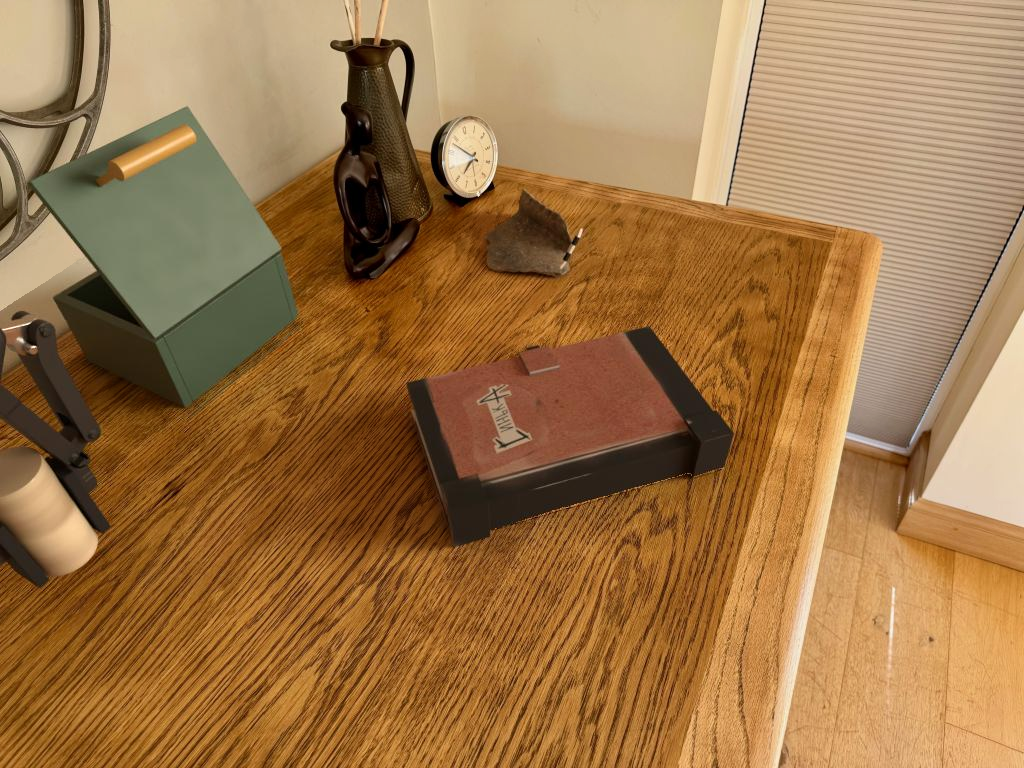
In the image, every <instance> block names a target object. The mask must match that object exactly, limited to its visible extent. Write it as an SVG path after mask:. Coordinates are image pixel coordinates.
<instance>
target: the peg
mask: <svg viewBox="0 0 1024 768" xmlns="http://www.w3.org/2000/svg"><path fill="white" fill-rule="evenodd" d="M0 524H1V525H3V526H4V527H5V528H6V529H7V530H8V532H9V533H10V534H11V535H12V536H13V538H14V539H15V540H16V541H17V542H18V543H19V545H20V546H21V547H22V548H23V549H24V550H25V552H26V553H27V554H28V555H29V556H30V557H31V559H32V560H33V561H34V562H35V563H36V565H37V566H38V567H39V568H40V569H41V570H42V572H43V573H44V574H45V575H46V576H47V577H48V578H58V577H62V576H66V575H68V574H71V573H73V572H76V571H77V570H78V569H80V568H81V567H83V566H84V565H85V564H87V562H88V561H90V560H91V558H92V557H93V556H94V554H95V553H96V551H97V548H98V544H99V536H98V534H97V531H96V530H95V529H94V528H93V527H92V526H91V524H90V523H89V522H88V520H87V519H86V517H85V516H84V515H83V513H82V512H81V510H80V509H79V507H78V506H77V505H76V503H75V502H74V500H73V499H72V498H71V496H70V495H69V493H68V492H67V490H66V489H65V488H64V486H63V485H62V483H61V482H60V481H59V479H58V478H57V476H56V475H55V473H54V472H53V471H52V469H51V468H50V466H49V465H48V464H47V462H46V461H45V457H44V455H42V454H41V453H40V451H38V450H37V449H35V448H33V447H30V446H21V445H20V446H13V447H12V446H11V447H8V448H4V449H1V450H0Z"/></svg>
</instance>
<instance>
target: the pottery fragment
mask: <svg viewBox="0 0 1024 768" xmlns="http://www.w3.org/2000/svg"><path fill="white" fill-rule="evenodd" d="M583 231H584V228H580V229H579V230H578V231H577V233H576V234H575V235H574V237H573V239H572V236H571V233H570V230H569V225H568V224H567V221H565V220H564V217H563V214H562V213H560V212H558V211H555V210H553V209H551V208H549V207H548V206H546V205H545V204H544V203H542V202H541V201H540V200H538V199H536V198H535V197H534V196H533V195H532V193H530V192H529V191H527V189H526V188H522V190H521V193H520V195H519V200H518V209H517V211H516V212H515V213H514V214H513V215H512V216H510V217H509V218H507V219H506V221H505V222H503V223H501V224H499V225H498V226H495V228H493V230H492V231H489V232H487V233H486V235H485V240H486V241H487V242H489V245H487V246H486V247H485V250H486V251H487V254H486V256H487V258H486V266H487V267H488V269H490V270H491V271H494V272H498V273H499V272H500V273H501V272H512V273H517V272H521V273H537V274H543V275H548V276H552V277H556V278H559V277H563V276H564V275H566V273H568V272H570V271H571V267H570V266H569V265H570V262H569V259H570V258H571V257H572V253H573V251H574V250H575V248H576V246H577V245H578V242H579V240H580V239H581V237H582V234H583Z"/></svg>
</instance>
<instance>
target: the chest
mask: <svg viewBox="0 0 1024 768" xmlns="http://www.w3.org/2000/svg"><path fill="white" fill-rule="evenodd" d="M52 299H53V301H54V303H55V304H56V307H57V308H58V310H59V312H60V314H61V315H62V318H63V319H64V320H65V323H66V324H67V326H68V328H69V329H70V331H71V333H72V335H73V337H74V338H75V340H76V343H77V344H78V346H79V347H80V349H81V351H82V353H83V355H84V356H85V358H86V360H87V362H89V363H91V364H93V365H96V366H97V367H99V368H101V369H103V370H106V371H108V372H109V373H111V374H114V375H116V376H118V377H120V378H122V379H124V380H127V381H129V382H130V383H132V384H135V385H137V386H138V387H141V388H143V389H145V390H147V391H149V392H150V393H154V394H155V395H157V396H160V397H162V398H164V399H165V400H168V401H170V402H172V403H174V404H176V405H178V406H180V407H183V408H184V409H185V408H187V407H189V406H190V405H191V404H192V403H193V402H195V401H196V400H197V399H199V398H200V397H201V396H202V395H204V394H205V393H206V392H207V391H208V390H210V389H211V388H212V387H213V386H214V385H216V384H218V382H220V381H221V380H222V379H223V378H224V377H226V376H227V375H228V374H229V373H231V372H232V371H233V370H234V369H235V368H236V367H238V366H240V365H241V364H242V363H243V362H244V361H245V360H246V359H248V358H249V357H250V356H251V355H253V354H254V353H255V352H257V351H258V350H259V349H260V348H262V347H263V346H264V345H265V344H266V343H268V342H269V341H270V340H271V339H272V338H274V337H275V336H276V335H278V334H279V333H280V332H281V331H283V330H284V329H285V328H287V326H289V325H290V324H291V323H292V322H294V321H295V320H296V319H297V318H298V317H299V311H298V309H297V304H296V301H295V297H294V294H293V291H292V285H291V283H290V279H289V276H288V272H287V268H286V265H285V262H284V257H283V254H282V253H281V252H280V251H278V252H277V253H275V254H274V255H273V256H271V257H270V258H268V259H267V260H266V261H264V262H263V263H261V264H260V265H259V266H257V267H256V268H254V269H253V270H252V271H250V272H249V273H247V274H246V275H244V276H243V277H242V278H240V279H239V280H237V281H236V282H235V283H233V284H232V285H230V286H229V287H228V288H226V289H225V290H223V291H222V292H220V293H219V294H218V295H216V296H215V297H213V298H212V299H211V300H209V301H208V302H206V303H205V304H204V305H202V306H201V307H199V308H198V309H197V310H195V311H194V312H192V313H191V314H189V315H188V316H187V317H185V318H184V319H182V320H181V321H180V322H178V323H177V324H175V325H174V326H173V327H171V328H170V329H168V330H167V331H165V332H164V333H163V334H161V335H160V336H158V337H157V338H156V339H151V338H150V337H149V335H148V334H147V333H146V332H145V330H144V329H143V328H142V327H141V325H140V324H139V323H138V322H137V320H136V319H135V318H134V317H133V315H132V314H131V313H130V312H129V310H128V309H127V308H126V307H125V305H124V304H123V303H122V302H121V300H120V299H119V298H118V297H117V295H116V294H115V293H114V292H113V290H112V289H111V288H110V287H109V285H108V284H107V283H106V282H105V280H104V279H103V278H102V277H101V275H100V274H99V273H98V272H97V270H95V271H93V272H92V273H91V274H88V275H87V276H85V277H84V278H82V279H81V280H79V281H77V282H75V283H74V284H72V285H70V286H69V287H66V288H65V289H64V290H62V291H60V292H59V293H57V294H55V295H54V296H52ZM300 327H302V324H300V325H298V326H297V327H296V328H295V329H293V330H292V331H291V332H290V333H288V334H287V335H286V336H285V337H283V339H281V340H280V341H279V342H277V344H275V345H274V346H273V347H272V348H271V349H269V350H268V351H267V352H266V353H264V354H263V355H262V356H260V358H258V359H257V360H255V361H254V362H253V363H252V364H251V365H250V366H249V367H247V368H246V369H245V370H244V371H243V372H241V373H240V374H238V376H236V377H235V378H234V379H233V380H231V381H230V382H229V383H228V384H227V385H225V386H224V387H223V388H222V389H221V390H220V391H218V392H217V393H216V394H214V395H213V396H212V397H211V398H209V399H208V400H207V401H206V402H205V403H204V404H203V405H201V406H200V407H199V408H197V409H196V410H195V411H194V412H193V413H191V414H190V415H189V416H188V418H191V417H193V416H194V415H195V414H196V413H197V412H198V411H200V410H201V409H202V408H203V407H205V406H206V405H208V403H210V402H211V401H212V400H213V399H215V397H217V396H218V395H219V394H221V393H222V392H223V391H224V390H225V389H226V388H228V387H229V386H230V385H231V384H232V383H234V382H235V381H236V380H237V379H238V378H240V377H241V376H242V375H243V374H245V373H246V372H247V371H248V370H249V369H251V368H253V366H254V365H255V364H257V363H258V362H259V361H260V360H262V359H263V358H264V357H265V356H266V355H268V354H269V353H270V352H271V351H273V350H274V349H275V348H276V347H277V346H279V345H280V344H281V343H282V342H284V340H286V339H287V338H288V337H289V336H291V335H292V334H293V333H294V332H295V331H297V330H298V329H299V328H300Z"/></svg>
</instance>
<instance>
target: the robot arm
mask: <svg viewBox="0 0 1024 768" xmlns="http://www.w3.org/2000/svg"><path fill="white" fill-rule="evenodd" d="M57 341H58V340H57V333H56V327H55V325H53V324H52V323H51V322H49V321H47V320H46V319H42V318H41V317H39V316H36V315H34V314H33V313H30V312H28V311H26V310H19V311H15V313H14V314H12V316H11V319H10V320H9V321H8V320H7V321H3V322H0V419H1V420H2V421H3V422H5V423H6V424H7V425H9V426H10V427H11V428H13V429H14V430H15V431H17V432H18V433H19V434H21V435H22V436H24V438H26V439H27V440H28V441H30V442H31V443H33V445H35V446H36V447H37V448H39V449H40V450H42V451H43V452H44V453H46V454H47V455H49V456H46V457H44V459H45V461H46V462H47V464H48V465H49V466H50V468H51V469H52V471H53V472H54V473H55V475H56V476H57V478H58V479H59V481H60V482H61V483H62V485H63V486H64V488H65V489H66V490H67V492H68V493H69V495H70V496H71V498H72V499H73V500H74V502H75V503H76V505H77V506H78V507H79V509H80V510H81V512H82V513H83V515H84V516H85V517H86V519H87V520H88V522H89V523H90V524H91V526H92V527H93V529H94V530H95V531H96V532H98V533H100V534H102V535H103V534H105V532H107V531H108V530H109V529H111V528H112V526H111V524H110V523H109V521H108V519H106V517H105V515H104V514H103V513H102V511H101V510H100V507H99V506H98V505H97V504H96V502H95V501H94V498H92V496H91V495H90V493H91V492H92V491H93V490H95V489H96V488H97V487H98V478H97V477H96V476H95V475H94V473H93V471H92V470H91V468H90V466H89V465H90V463H91V457H90V455H89V454H88V453H86V452H84V449H86V447H87V446H88V444H89V443H95V442H96V441H97V440H98V439H100V437H101V435H102V428H101V427H100V425H99V424H98V422H97V420H96V419H95V417H94V415H93V413H92V411H91V409H90V408H89V406H88V404H87V403H86V401H85V399H84V397H83V395H82V393H81V391H80V390H79V389H78V387H77V384H76V383H75V382H74V379H73V377H72V376H71V374H70V372H69V371H68V369H67V367H66V366H65V363H64V362H63V360H62V358H61V357H60V355H59V351H58V342H57ZM7 348H8V350H10V351H13V352H14V353H16V354H17V356H18V357H19V359H20V361H21V362H22V364H23V366H24V368H25V369H26V371H27V372H28V374H29V376H30V377H31V379H32V380H33V382H34V383H35V385H36V387H37V389H38V390H39V392H40V393H41V395H42V396H43V398H44V400H45V401H46V403H47V405H48V406H49V408H50V409H51V412H52V413H53V415H54V416H55V418H56V419H57V421H58V422H59V424H60V425H61V427H62V428H61V430H60V431H59V432H58V431H57V430H56V429H55V428H53V427H52V426H51V425H50V424H49V423H47V421H45V420H44V419H43V418H41V417H40V416H39V415H38V414H36V412H34V411H33V410H32V409H30V408H29V407H28V406H26V404H24V403H23V401H22V400H21V399H20V398H18V397H17V396H16V395H15V394H13V393H12V392H11V390H9V389H7V388H6V387H5V385H3V384H1V383H2V375H3V368H4V361H5V357H6V356H5V355H6V349H7ZM5 563H7V564H8V565H9V566H10V567H11V568H12V569H13V571H14V572H15V573H17V574H18V575H19V576H21V577H23V578H24V579H25V580H27V581H28V582H29V583H31V584H33V585H34V586H35V587H37V588H39V589H42V588H43V587H45V585H46V584H48V582H50V578H49V577H47V576H46V575H45V574H44V573H43V572H42V570H41V569H40V568H39V567H38V566H37V565H36V563H35V562H34V561H33V560H32V559H31V557H30V556H29V555H28V554H27V553H26V552H25V550H24V549H23V548H22V547H21V546H20V545H19V543H18V542H17V541H16V540H15V539H14V538H13V536H12V535H11V534H10V533H9V532H8V530H7V529H6V528H5V527H4V526H3V525H1V524H0V567H1V566H3V565H4V564H5Z"/></svg>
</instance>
